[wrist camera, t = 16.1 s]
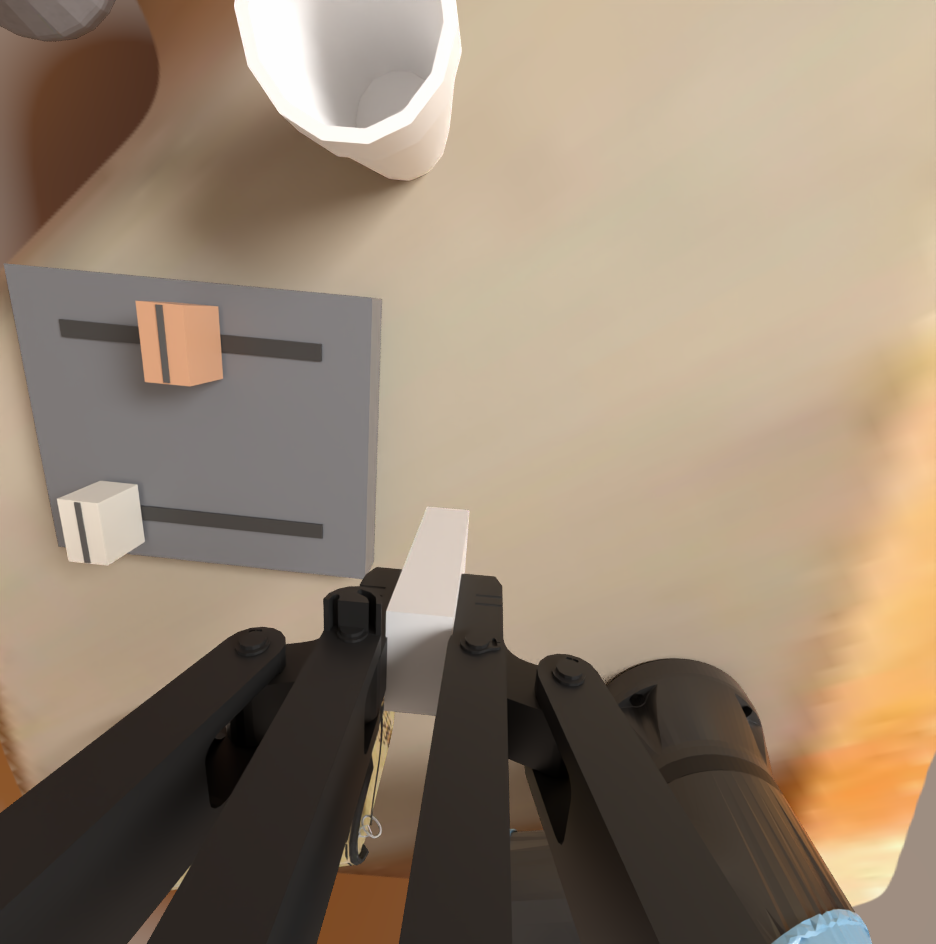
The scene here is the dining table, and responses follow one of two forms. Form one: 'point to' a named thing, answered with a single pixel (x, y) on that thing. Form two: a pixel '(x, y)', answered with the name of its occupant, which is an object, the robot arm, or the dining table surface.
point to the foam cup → (359, 75)
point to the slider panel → (212, 417)
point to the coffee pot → (53, 17)
